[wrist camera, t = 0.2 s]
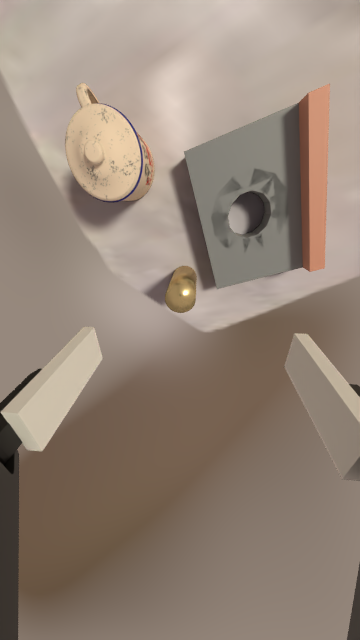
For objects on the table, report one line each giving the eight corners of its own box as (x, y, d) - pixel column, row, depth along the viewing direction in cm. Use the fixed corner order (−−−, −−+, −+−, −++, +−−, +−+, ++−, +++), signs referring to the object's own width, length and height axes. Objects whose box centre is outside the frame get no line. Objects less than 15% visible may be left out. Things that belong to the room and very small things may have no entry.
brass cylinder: (169, 269, 38) (160, 289, 30) (192, 262, 37) (190, 281, 29) (177, 291, 40) (170, 315, 32) (199, 285, 39) (198, 308, 31)
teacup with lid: (165, 188, 32) (149, 182, 22) (116, 211, 34) (81, 215, 24) (130, 86, 26) (88, 16, 16) (75, 121, 29) (8, 79, 19)
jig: (185, 156, 30) (182, 147, 24) (304, 107, 26) (329, 83, 21) (215, 282, 39) (218, 294, 34) (306, 258, 35) (324, 268, 30)
